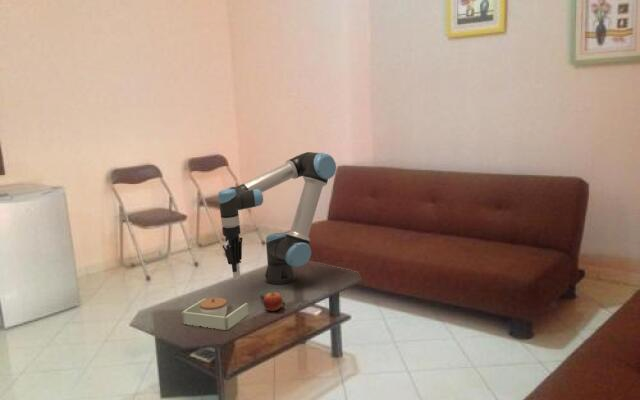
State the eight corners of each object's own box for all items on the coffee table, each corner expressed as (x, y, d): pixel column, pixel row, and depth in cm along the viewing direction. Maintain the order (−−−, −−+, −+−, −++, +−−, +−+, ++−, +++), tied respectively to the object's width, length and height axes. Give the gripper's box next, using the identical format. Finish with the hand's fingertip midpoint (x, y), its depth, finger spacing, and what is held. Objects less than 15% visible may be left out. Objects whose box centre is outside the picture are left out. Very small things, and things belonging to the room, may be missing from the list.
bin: (205, 309, 227) (204, 298, 226) (248, 314, 219) (247, 303, 218) (182, 324, 213) (181, 312, 212) (227, 330, 205) (226, 318, 204)
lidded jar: (222, 326, 209) (220, 303, 207) (196, 325, 211) (194, 303, 209) (232, 315, 219) (230, 293, 217) (207, 315, 221) (205, 293, 219)
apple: (286, 309, 222) (285, 291, 221) (270, 314, 218) (269, 296, 216) (276, 304, 229) (275, 286, 227) (260, 309, 224) (259, 291, 223)
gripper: (231, 221, 235) (237, 272, 240) (215, 229, 223) (221, 282, 228) (245, 221, 232) (251, 273, 237) (230, 229, 221) (237, 283, 225)
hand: (237, 277), depth 233 cm, fingers closed
